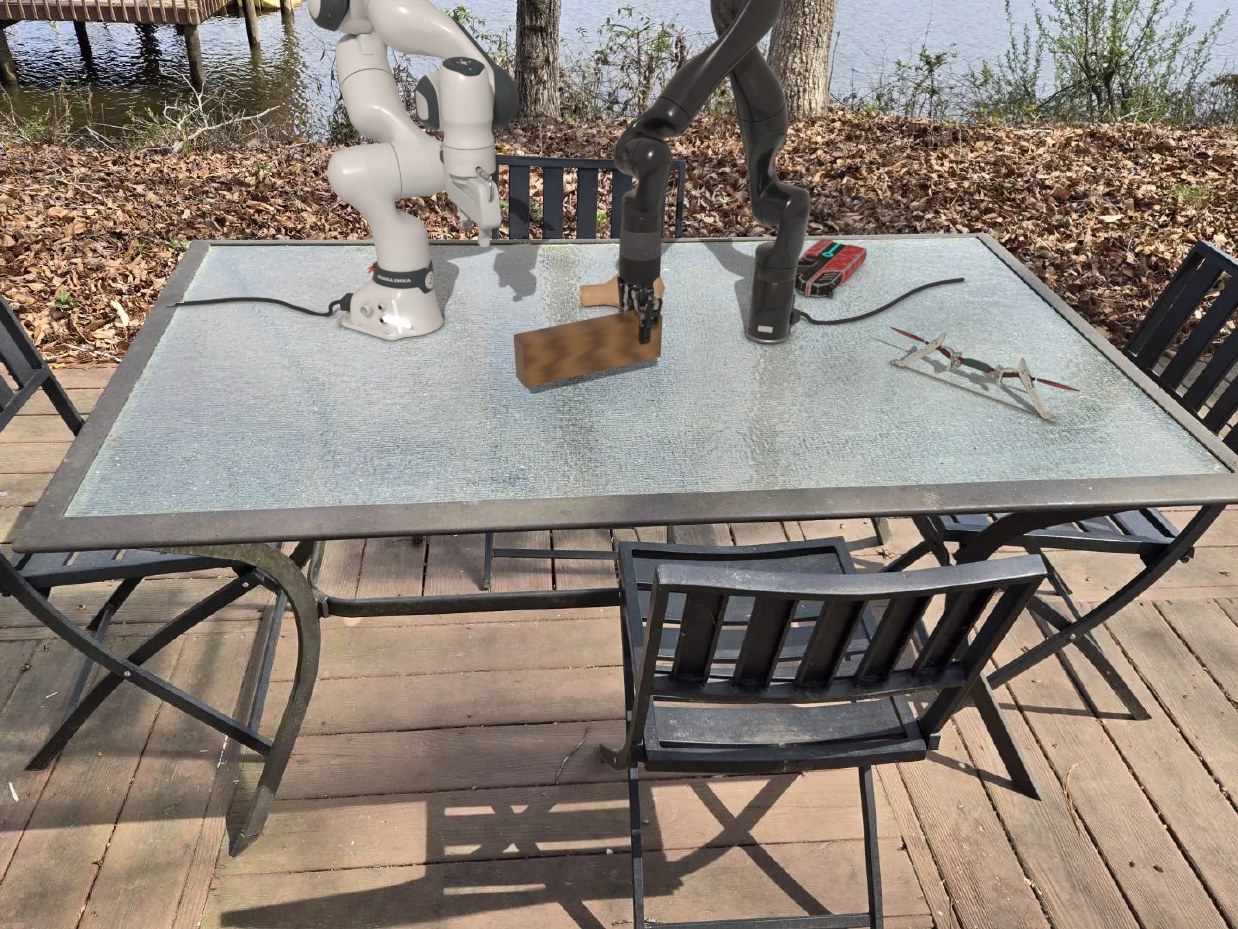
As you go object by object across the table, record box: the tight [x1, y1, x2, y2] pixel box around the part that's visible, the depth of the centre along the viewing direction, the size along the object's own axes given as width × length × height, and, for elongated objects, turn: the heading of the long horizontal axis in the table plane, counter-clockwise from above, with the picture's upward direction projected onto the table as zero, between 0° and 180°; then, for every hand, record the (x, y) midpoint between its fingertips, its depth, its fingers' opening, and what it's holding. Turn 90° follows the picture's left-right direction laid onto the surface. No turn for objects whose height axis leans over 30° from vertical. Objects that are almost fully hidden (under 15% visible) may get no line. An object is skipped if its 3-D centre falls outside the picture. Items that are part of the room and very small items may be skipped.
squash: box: [579, 272, 666, 311], centre depth 204 cm, size 11×20×9 cm, turn 90°
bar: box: [513, 307, 663, 389], centre depth 162 cm, size 28×5×9 cm, turn 117°
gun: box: [795, 237, 868, 299], centre depth 225 cm, size 4×31×19 cm
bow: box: [889, 326, 1081, 422], centre depth 173 cm, size 39×2×10 cm, turn 47°
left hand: (475, 237), depth 161 cm, fingers open, 8 cm apart
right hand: (637, 336), depth 166 cm, fingers closed on bar, 4 cm apart
